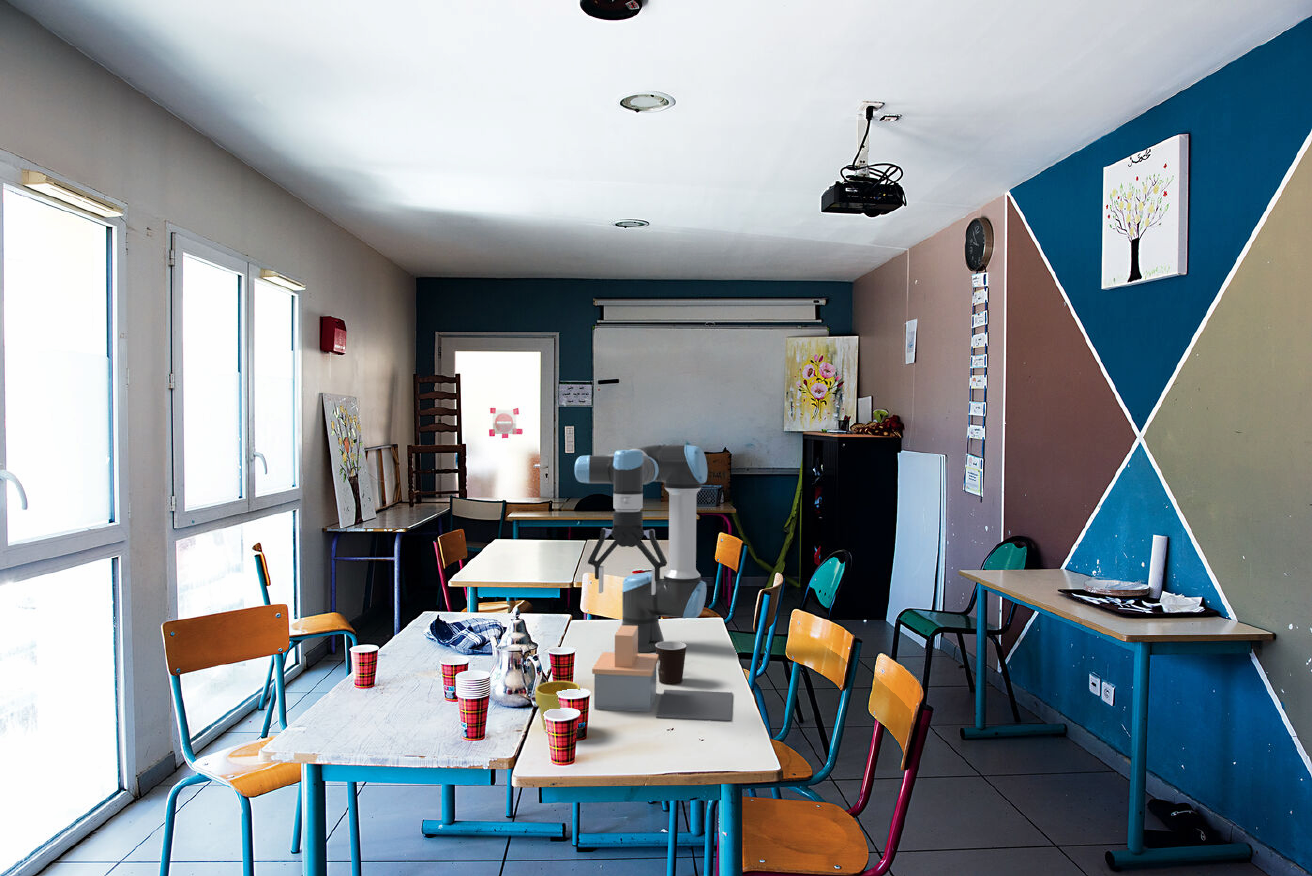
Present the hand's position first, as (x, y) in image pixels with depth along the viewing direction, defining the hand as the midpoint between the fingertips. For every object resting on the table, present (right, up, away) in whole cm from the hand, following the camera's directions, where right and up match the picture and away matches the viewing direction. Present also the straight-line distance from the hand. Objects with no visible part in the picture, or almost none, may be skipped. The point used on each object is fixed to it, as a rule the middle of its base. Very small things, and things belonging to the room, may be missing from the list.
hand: (627, 593), depth 206 cm
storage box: (0, -28, +1) cm, 28 cm away
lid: (0, -20, 0) cm, 20 cm away
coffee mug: (+12, -28, +18) cm, 35 cm away
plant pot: (-15, -28, -19) cm, 37 cm away
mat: (+18, -28, -2) cm, 33 cm away
